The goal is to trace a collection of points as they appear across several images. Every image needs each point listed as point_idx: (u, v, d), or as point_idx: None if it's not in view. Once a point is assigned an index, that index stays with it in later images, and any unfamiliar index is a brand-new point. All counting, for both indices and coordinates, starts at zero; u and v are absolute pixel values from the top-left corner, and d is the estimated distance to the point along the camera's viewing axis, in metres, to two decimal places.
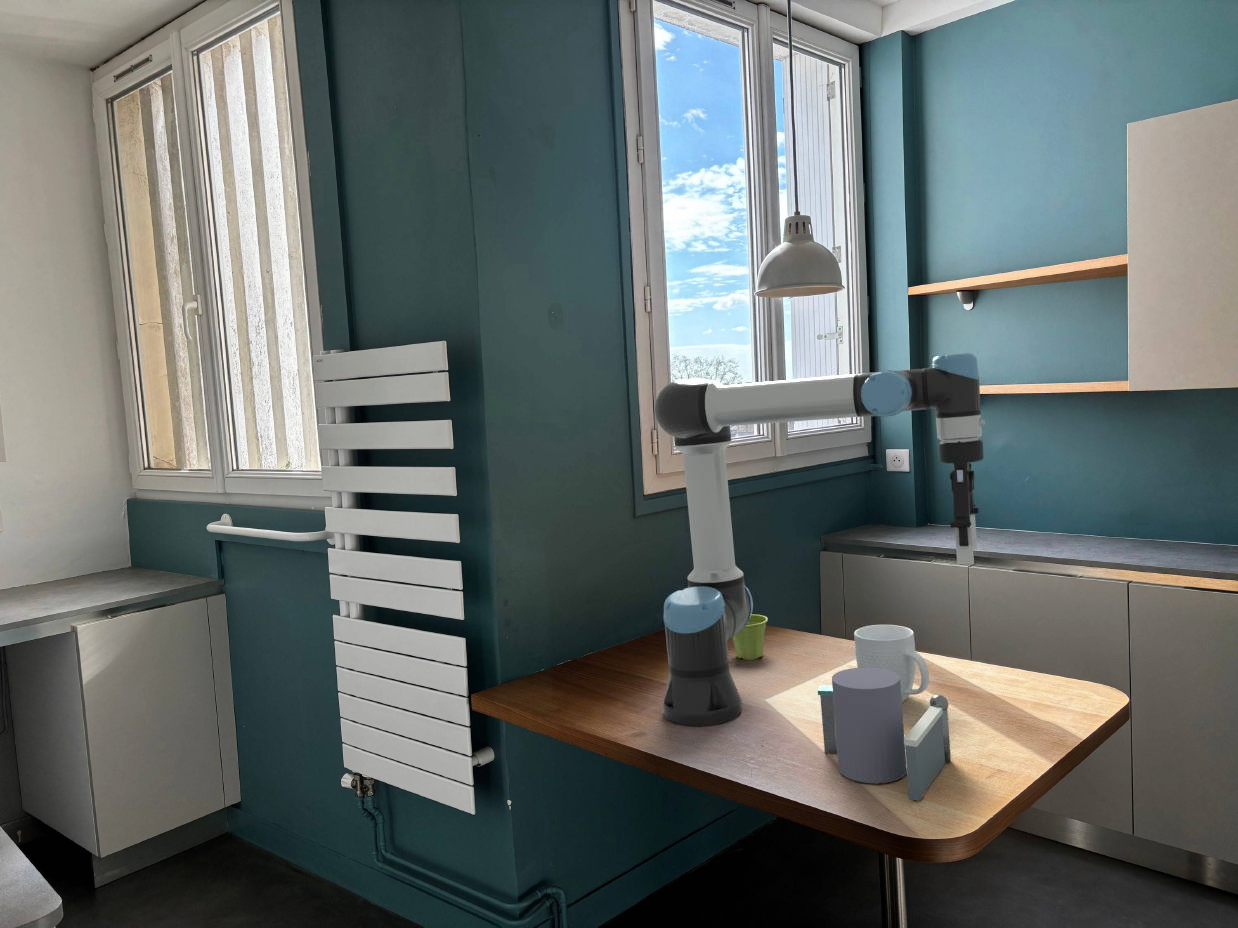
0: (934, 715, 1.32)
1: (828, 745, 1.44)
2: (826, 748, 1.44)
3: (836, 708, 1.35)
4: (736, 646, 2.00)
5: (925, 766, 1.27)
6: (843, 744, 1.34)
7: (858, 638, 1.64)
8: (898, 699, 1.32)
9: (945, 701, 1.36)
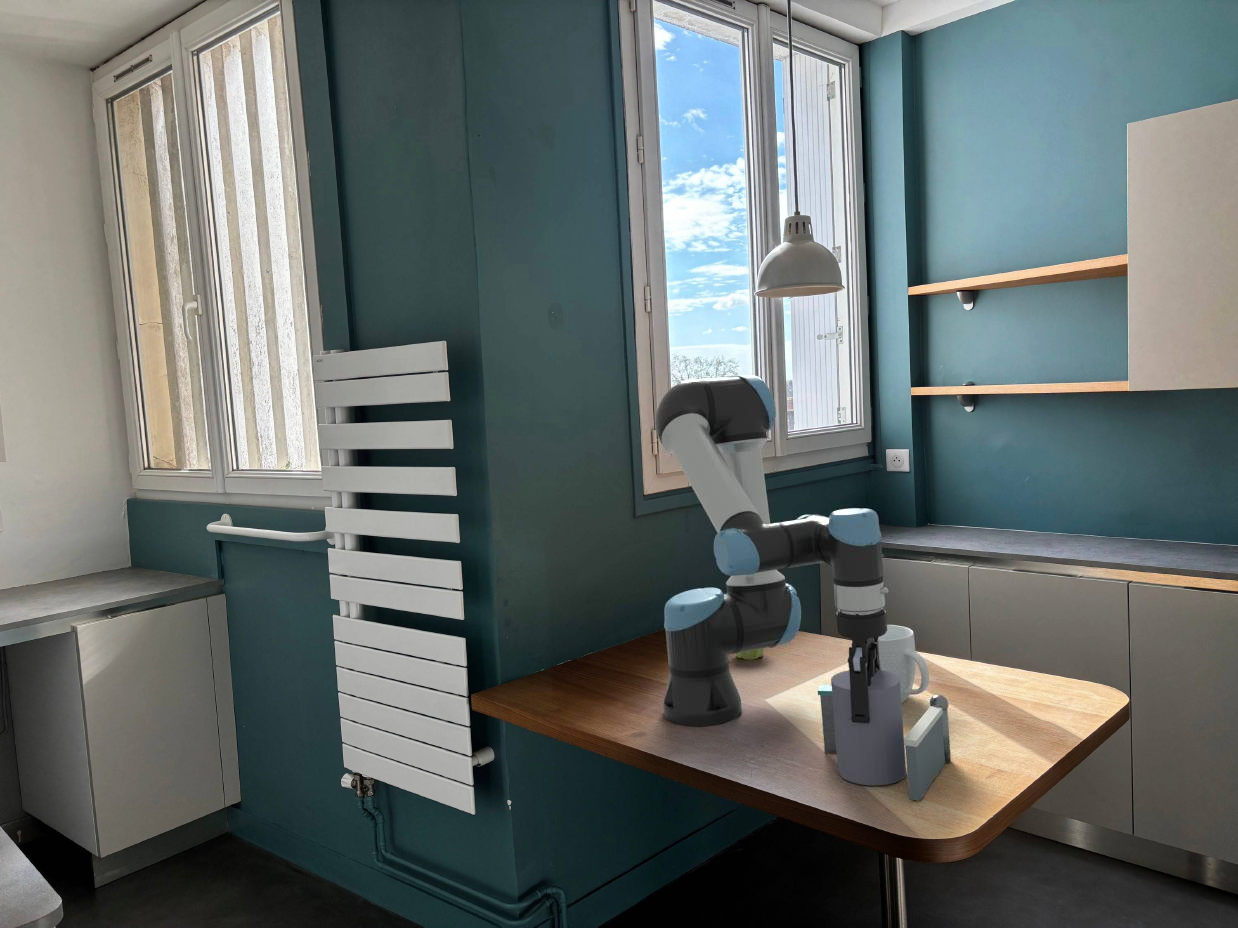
0: (934, 715, 1.32)
1: (828, 745, 1.44)
2: (826, 748, 1.44)
3: (835, 710, 1.34)
4: None
5: (925, 766, 1.27)
6: (842, 746, 1.33)
7: None
8: (898, 701, 1.31)
9: (945, 701, 1.36)
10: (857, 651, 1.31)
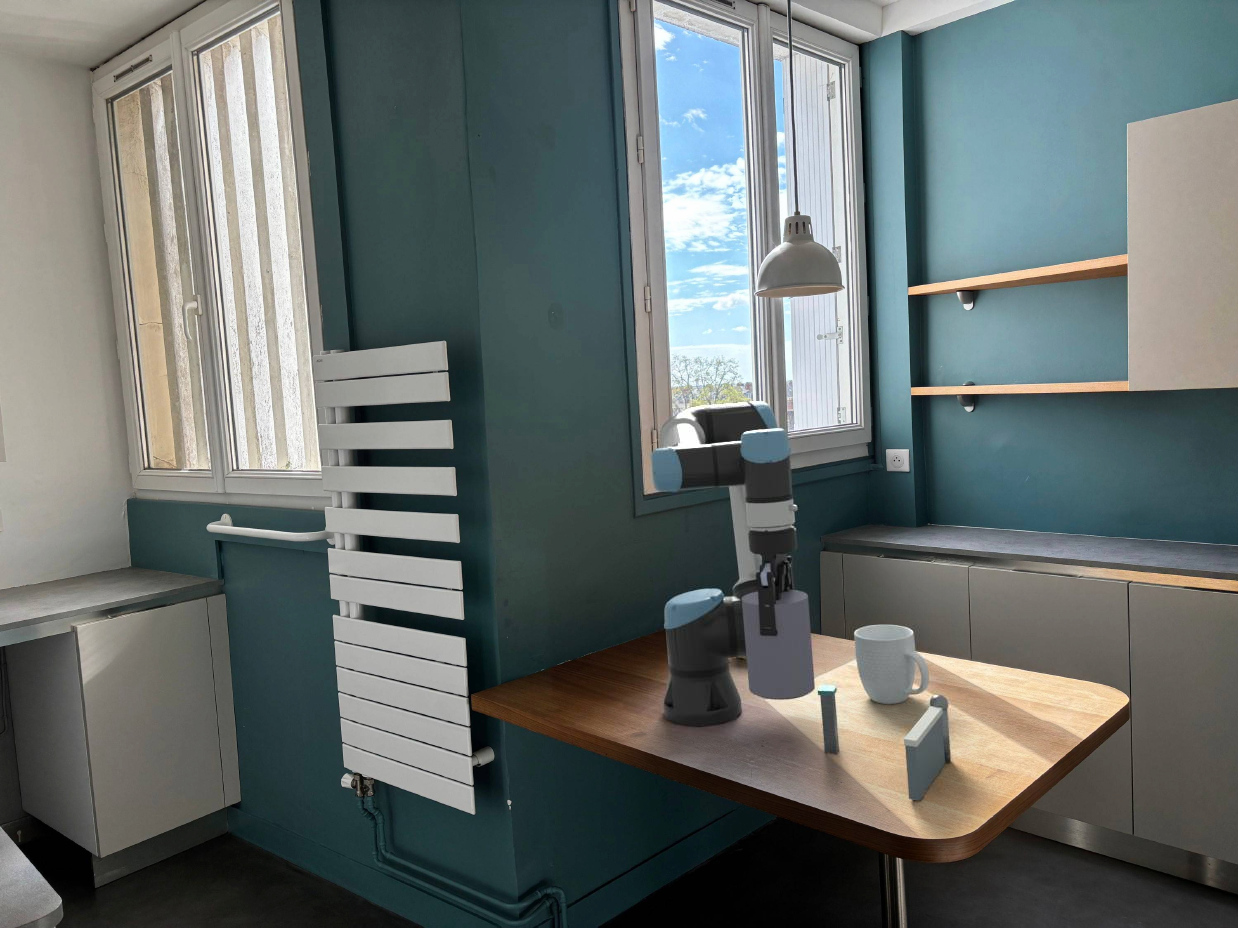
0: (934, 715, 1.32)
1: (828, 745, 1.44)
2: (826, 748, 1.44)
3: (745, 627, 1.36)
4: None
5: (925, 766, 1.27)
6: (751, 662, 1.35)
7: (858, 638, 1.64)
8: (804, 616, 1.33)
9: (945, 701, 1.36)
10: (766, 567, 1.34)
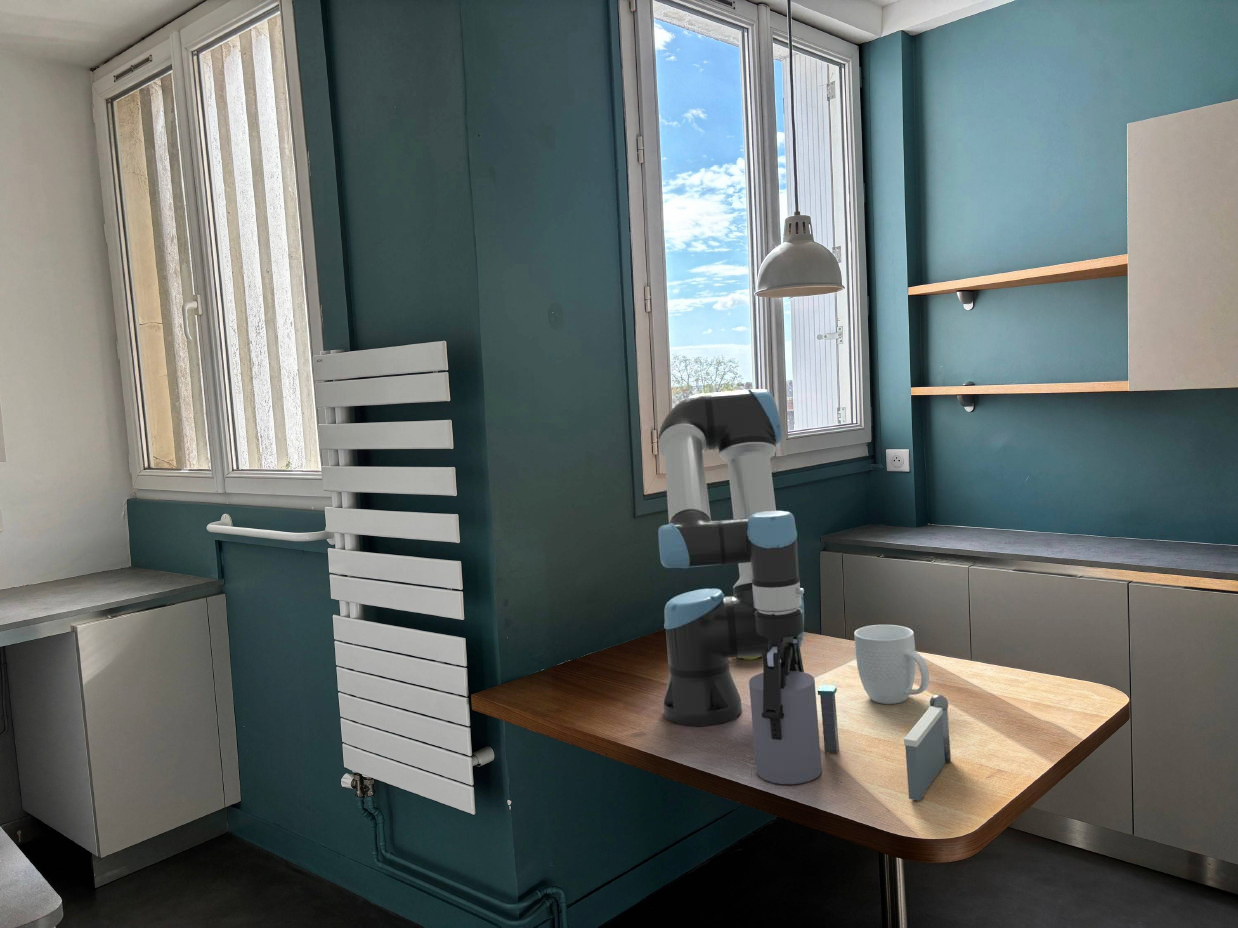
0: (934, 715, 1.32)
1: (828, 745, 1.44)
2: (826, 748, 1.44)
3: (752, 710, 1.37)
4: None
5: (925, 766, 1.27)
6: (759, 746, 1.36)
7: (858, 638, 1.64)
8: (811, 701, 1.34)
9: (945, 701, 1.36)
10: (773, 649, 1.35)
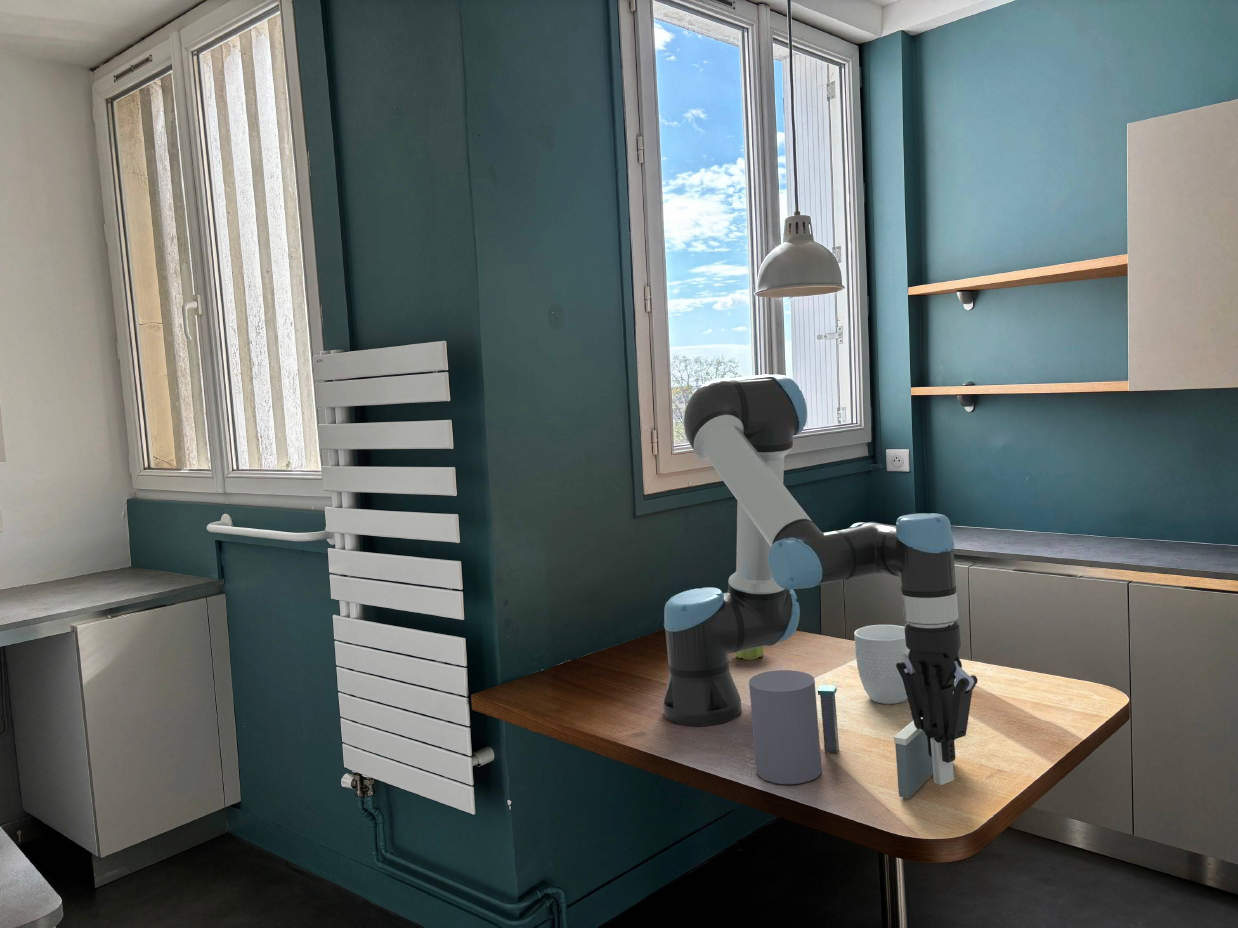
0: None
1: (828, 745, 1.44)
2: (826, 748, 1.44)
3: (752, 710, 1.37)
4: None
5: (917, 765, 1.28)
6: (759, 746, 1.36)
7: (858, 638, 1.64)
8: (811, 701, 1.34)
9: None
10: (957, 668, 1.21)
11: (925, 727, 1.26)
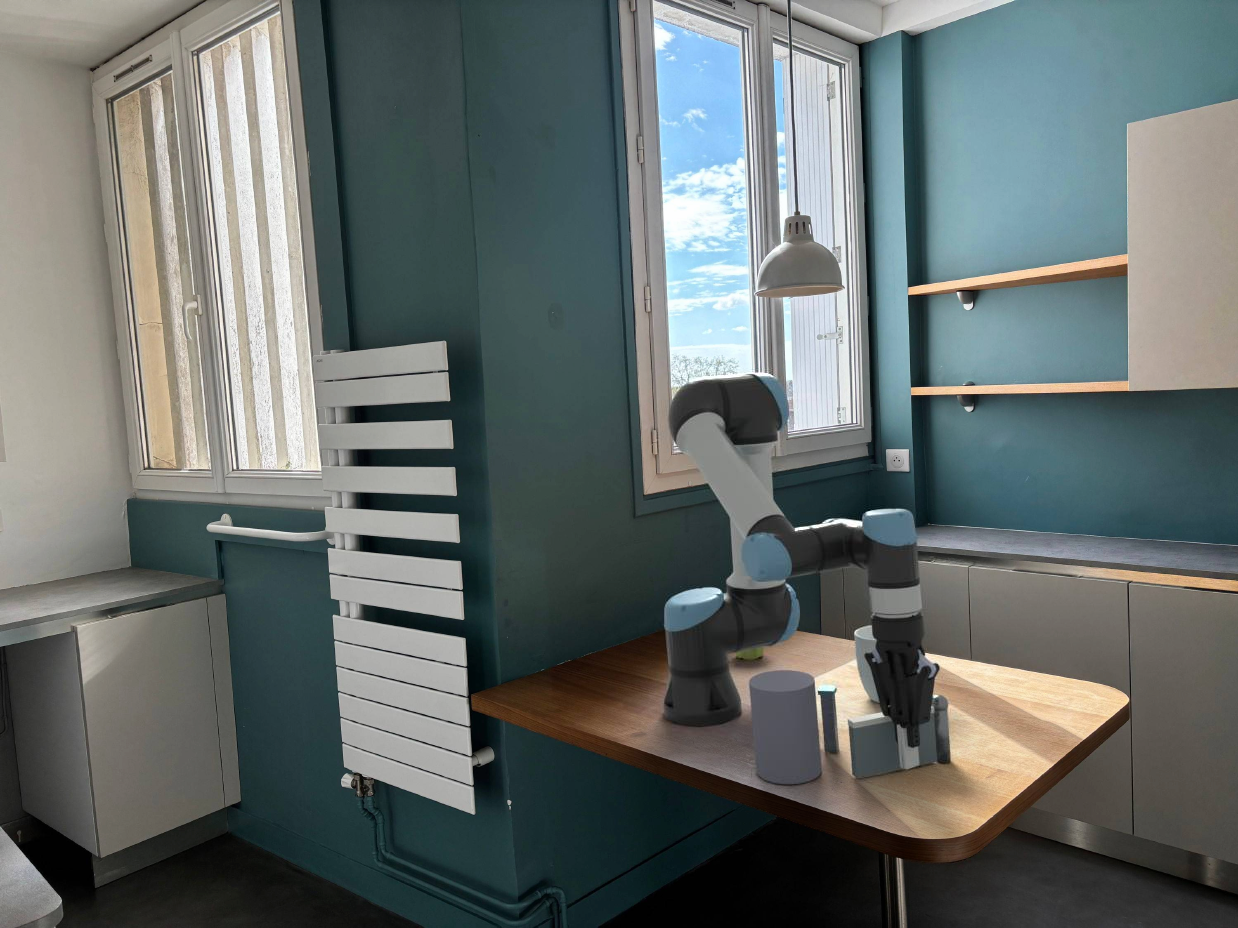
0: None
1: (828, 745, 1.44)
2: (826, 748, 1.44)
3: (752, 710, 1.37)
4: None
5: (877, 751, 1.34)
6: (759, 746, 1.36)
7: (858, 638, 1.64)
8: (811, 701, 1.34)
9: (945, 701, 1.36)
10: (921, 656, 1.27)
11: (892, 714, 1.32)
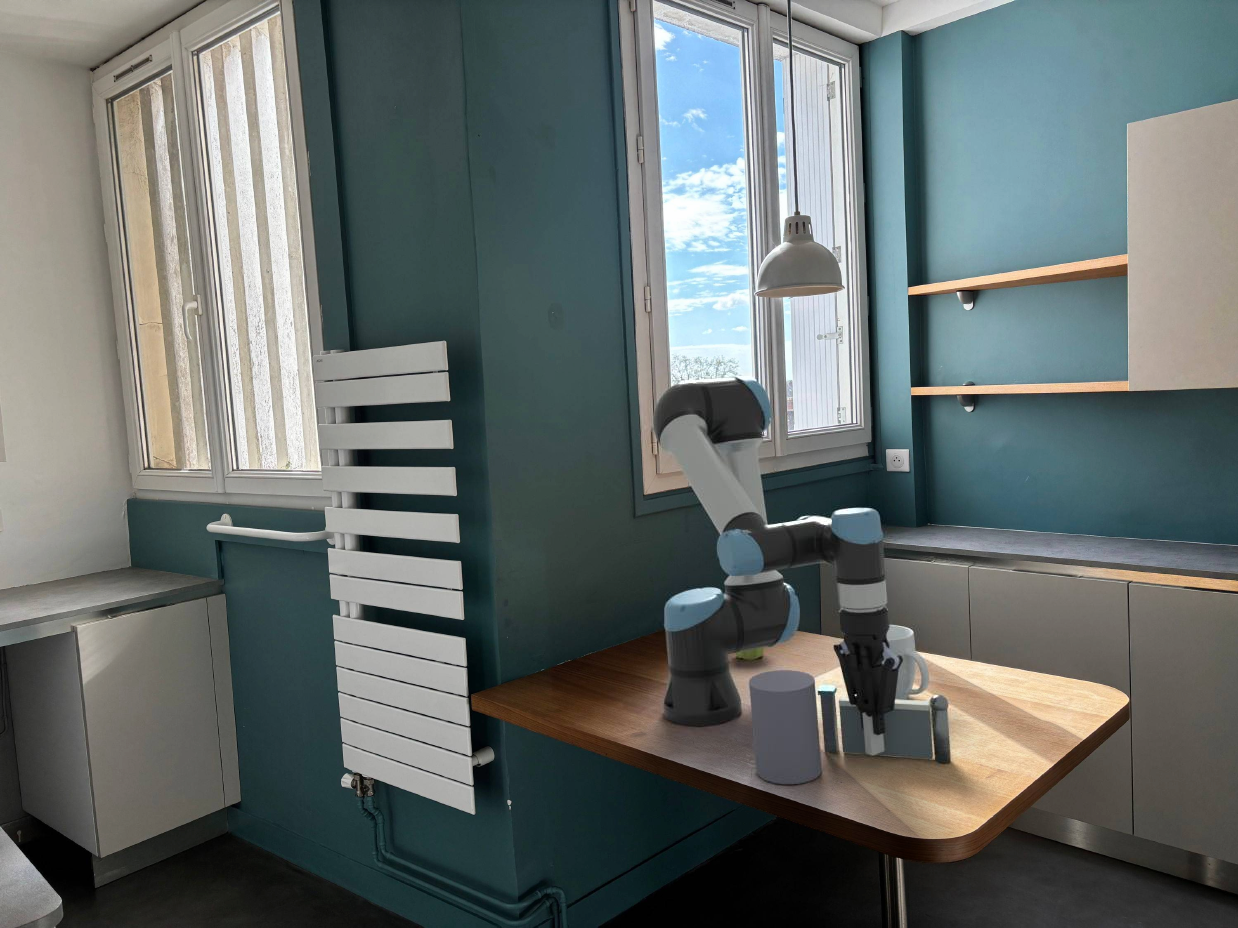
0: (904, 703, 1.38)
1: (828, 745, 1.44)
2: (826, 748, 1.44)
3: (752, 710, 1.37)
4: None
5: None
6: (759, 746, 1.36)
7: None
8: (812, 701, 1.34)
9: (945, 701, 1.36)
10: (885, 648, 1.33)
11: (858, 703, 1.38)
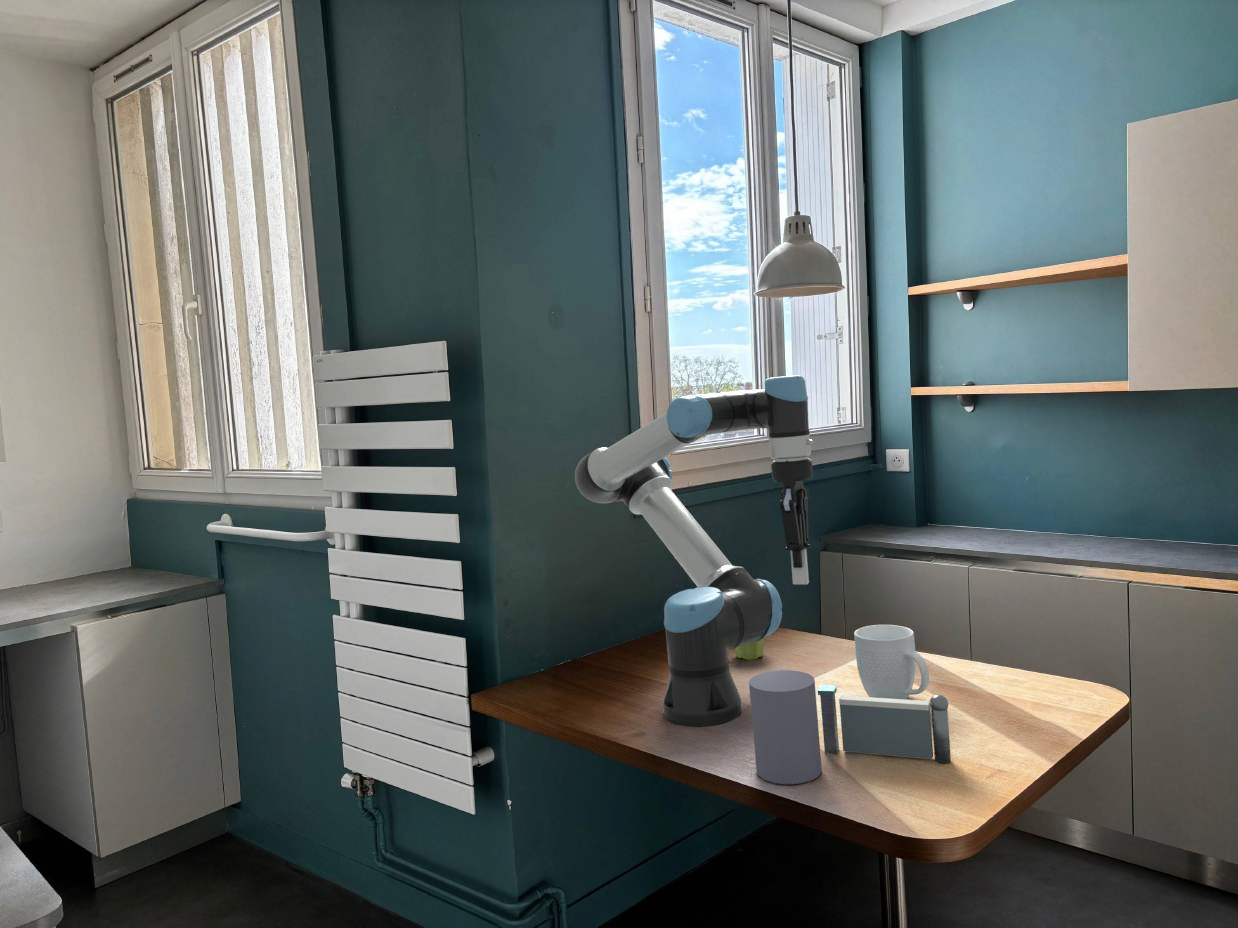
0: (904, 702, 1.38)
1: (828, 745, 1.44)
2: (826, 748, 1.44)
3: (752, 710, 1.37)
4: None
5: (865, 732, 1.42)
6: (759, 746, 1.36)
7: (858, 638, 1.64)
8: (811, 701, 1.34)
9: (945, 701, 1.36)
10: (787, 493, 1.58)
11: None
